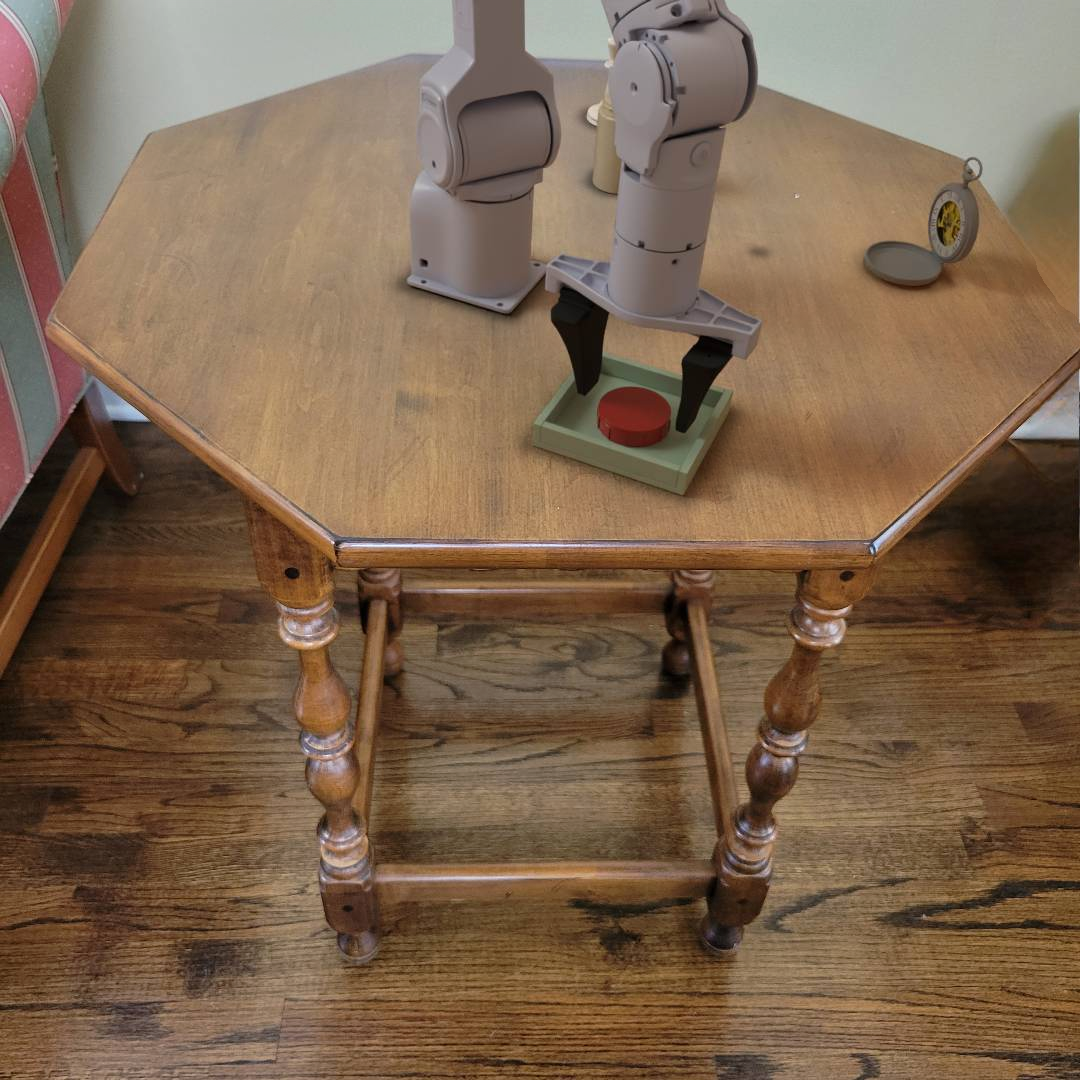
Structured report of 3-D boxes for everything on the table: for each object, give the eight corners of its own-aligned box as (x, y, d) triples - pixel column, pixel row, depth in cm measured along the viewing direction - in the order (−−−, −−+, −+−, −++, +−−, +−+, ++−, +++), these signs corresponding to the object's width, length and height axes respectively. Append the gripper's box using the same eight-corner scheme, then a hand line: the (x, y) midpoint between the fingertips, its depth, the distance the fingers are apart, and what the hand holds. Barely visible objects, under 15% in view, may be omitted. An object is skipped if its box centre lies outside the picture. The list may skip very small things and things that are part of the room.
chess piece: (641, 117, 114) (652, 19, 107) (618, 133, 111) (629, 33, 104) (601, 105, 116) (609, 7, 109) (577, 120, 113) (585, 21, 106)
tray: (531, 445, 75) (533, 422, 73) (588, 369, 81) (590, 347, 80) (683, 496, 72) (687, 473, 70) (728, 412, 78) (733, 390, 77)
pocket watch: (847, 267, 94) (878, 158, 87) (898, 236, 98) (932, 130, 91) (928, 306, 90) (968, 195, 83) (978, 272, 94) (1020, 164, 87)
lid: (649, 456, 74) (651, 440, 73) (584, 430, 75) (585, 414, 74) (680, 418, 77) (683, 402, 76) (617, 393, 78) (619, 377, 77)
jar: (584, 187, 102) (591, 101, 96) (603, 166, 105) (611, 83, 100) (631, 199, 101) (641, 113, 95) (648, 178, 104) (659, 94, 98)
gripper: (795, 236, 66) (752, 410, 75) (586, 172, 70) (571, 345, 80) (753, 287, 61) (714, 466, 71) (533, 216, 66) (524, 393, 75)
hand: (635, 405), depth 75 cm, fingers open, 7 cm apart
